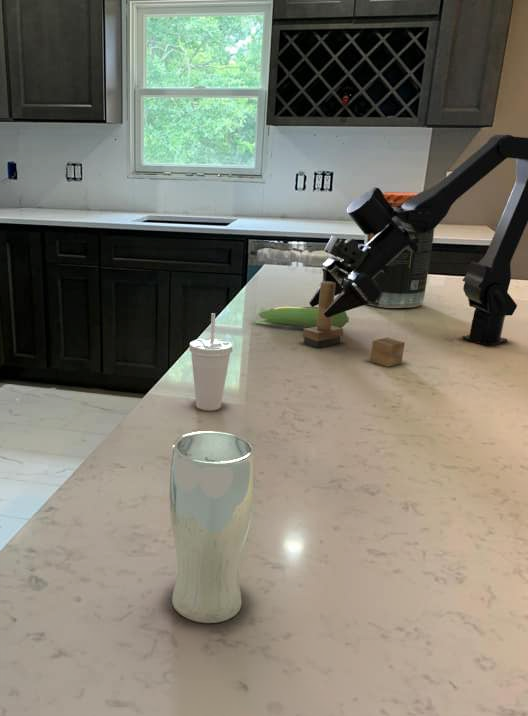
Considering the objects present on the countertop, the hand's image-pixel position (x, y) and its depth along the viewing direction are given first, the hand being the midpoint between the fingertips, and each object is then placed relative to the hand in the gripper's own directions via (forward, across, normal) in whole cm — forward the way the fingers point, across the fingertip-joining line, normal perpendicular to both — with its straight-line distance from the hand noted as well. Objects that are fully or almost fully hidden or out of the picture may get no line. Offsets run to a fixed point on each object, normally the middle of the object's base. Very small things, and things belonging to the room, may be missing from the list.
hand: (317, 310), depth 143 cm
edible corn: (+4, -12, +5) cm, 14 cm away
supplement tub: (-17, -36, +26) cm, 48 cm away
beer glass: (+30, +84, -21) cm, 92 cm away
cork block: (-2, +14, +11) cm, 18 cm away
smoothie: (+24, +35, -14) cm, 45 cm away
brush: (+4, 0, +6) cm, 7 cm away
